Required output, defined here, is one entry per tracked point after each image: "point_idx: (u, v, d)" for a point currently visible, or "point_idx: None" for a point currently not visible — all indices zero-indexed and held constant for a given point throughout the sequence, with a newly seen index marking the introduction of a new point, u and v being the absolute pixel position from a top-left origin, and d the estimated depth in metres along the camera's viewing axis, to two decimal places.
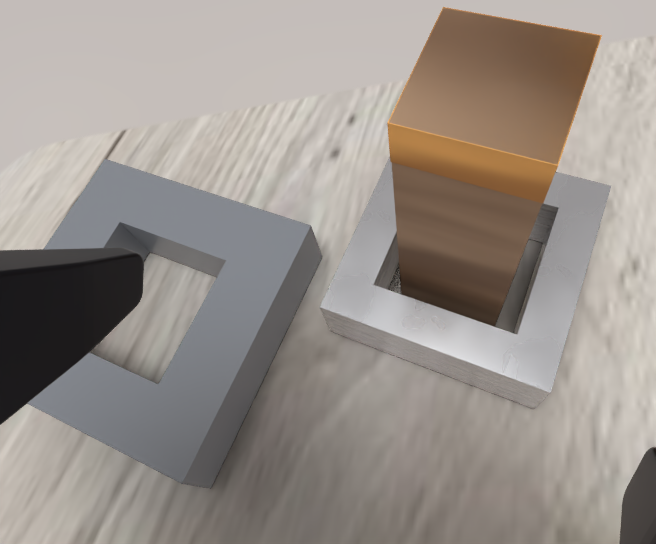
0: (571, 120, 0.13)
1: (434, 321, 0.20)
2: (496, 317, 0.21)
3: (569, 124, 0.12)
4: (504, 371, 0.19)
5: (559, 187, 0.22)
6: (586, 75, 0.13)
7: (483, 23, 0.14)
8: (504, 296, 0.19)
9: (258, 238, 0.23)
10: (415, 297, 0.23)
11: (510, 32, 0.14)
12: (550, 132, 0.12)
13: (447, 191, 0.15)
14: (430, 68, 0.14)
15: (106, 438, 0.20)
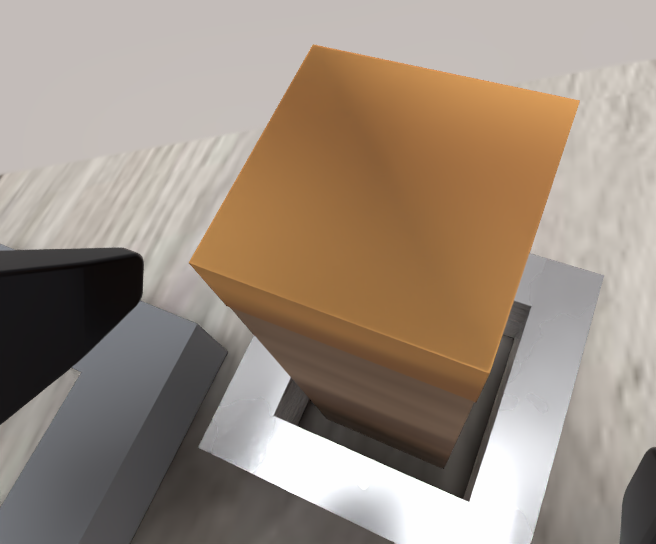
0: (519, 273, 0.07)
1: (353, 476, 0.14)
2: (444, 461, 0.15)
3: (515, 281, 0.06)
4: None
5: (533, 276, 0.16)
6: (550, 179, 0.07)
7: (376, 74, 0.08)
8: (448, 452, 0.13)
9: (126, 340, 0.17)
10: (339, 420, 0.17)
11: (419, 91, 0.08)
12: (478, 297, 0.06)
13: (324, 352, 0.09)
14: (277, 157, 0.08)
15: None
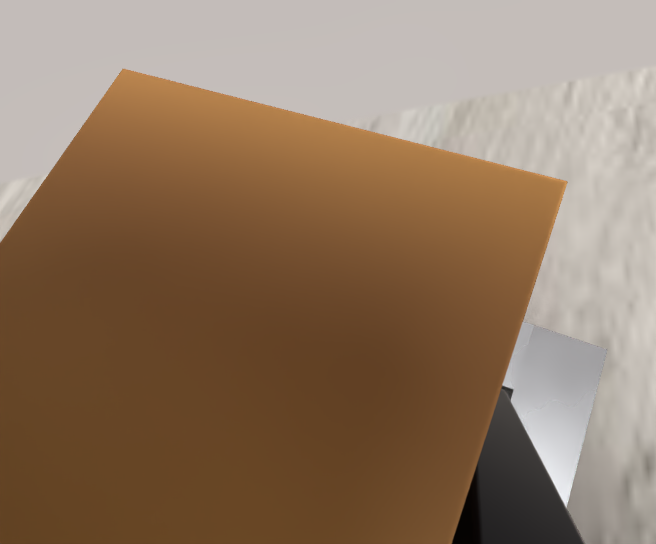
0: None
1: None
2: None
3: None
4: None
5: (516, 349, 0.12)
6: (507, 348, 0.04)
7: (215, 123, 0.05)
8: None
9: None
10: None
11: (282, 156, 0.04)
12: None
13: None
14: (24, 277, 0.04)
15: None
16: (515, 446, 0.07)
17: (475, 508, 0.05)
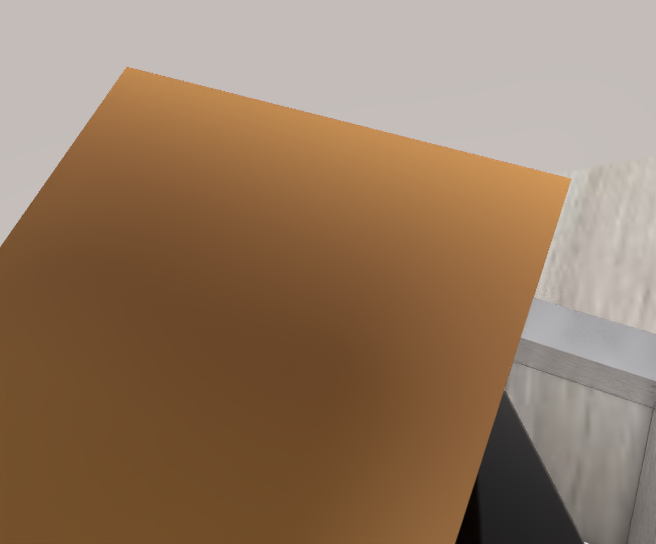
0: None
1: None
2: None
3: None
4: None
5: None
6: (511, 344, 0.04)
7: (219, 121, 0.05)
8: None
9: None
10: None
11: (287, 155, 0.04)
12: None
13: None
14: (28, 274, 0.04)
15: None
16: (515, 446, 0.07)
17: (475, 508, 0.05)
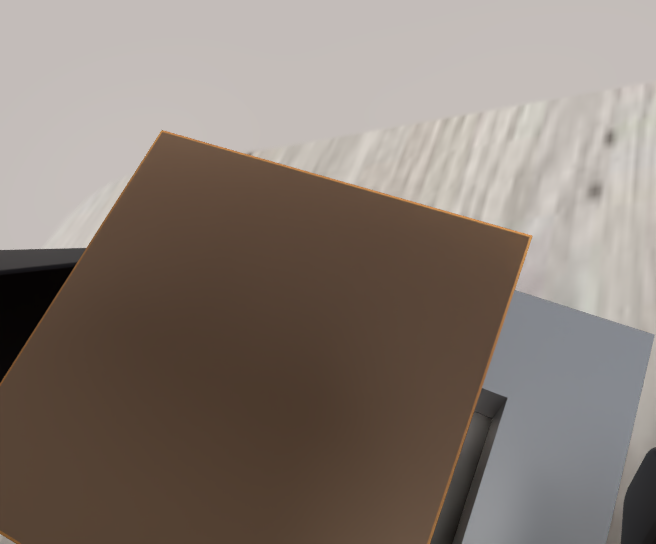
0: None
1: None
2: None
3: None
4: None
5: None
6: (481, 373, 0.04)
7: (241, 181, 0.06)
8: None
9: (559, 356, 0.13)
10: None
11: (298, 211, 0.05)
12: None
13: None
14: (86, 311, 0.05)
15: None
16: None
17: None
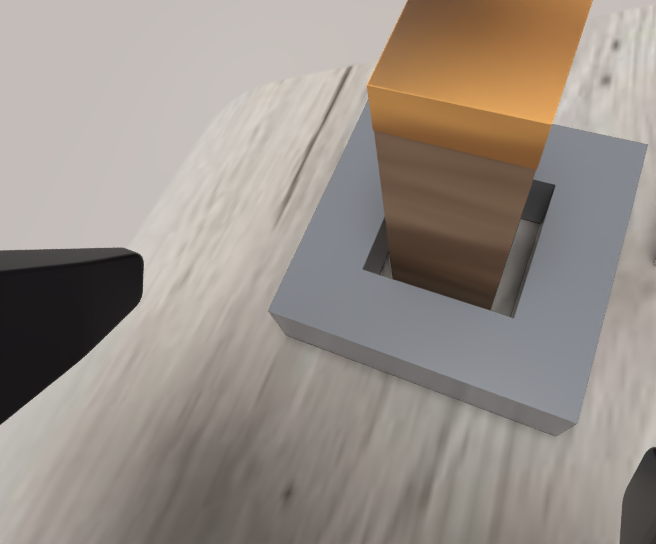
0: (565, 76, 0.12)
1: None
2: (491, 299, 0.20)
3: (563, 80, 0.11)
4: None
5: None
6: (581, 28, 0.12)
7: None
8: (499, 276, 0.18)
9: (587, 160, 0.21)
10: (407, 281, 0.22)
11: None
12: (543, 89, 0.11)
13: (434, 161, 0.14)
14: (412, 26, 0.13)
15: (467, 378, 0.18)
16: None
17: None
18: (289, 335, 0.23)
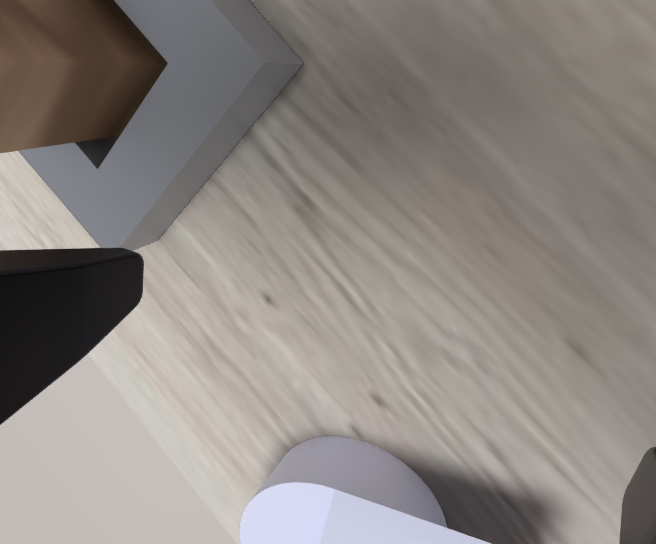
0: None
1: None
2: (160, 64, 0.21)
3: None
4: None
5: None
6: None
7: None
8: (118, 63, 0.19)
9: None
10: None
11: None
12: None
13: None
14: None
15: (202, 134, 0.20)
16: None
17: None
18: (157, 238, 0.26)
